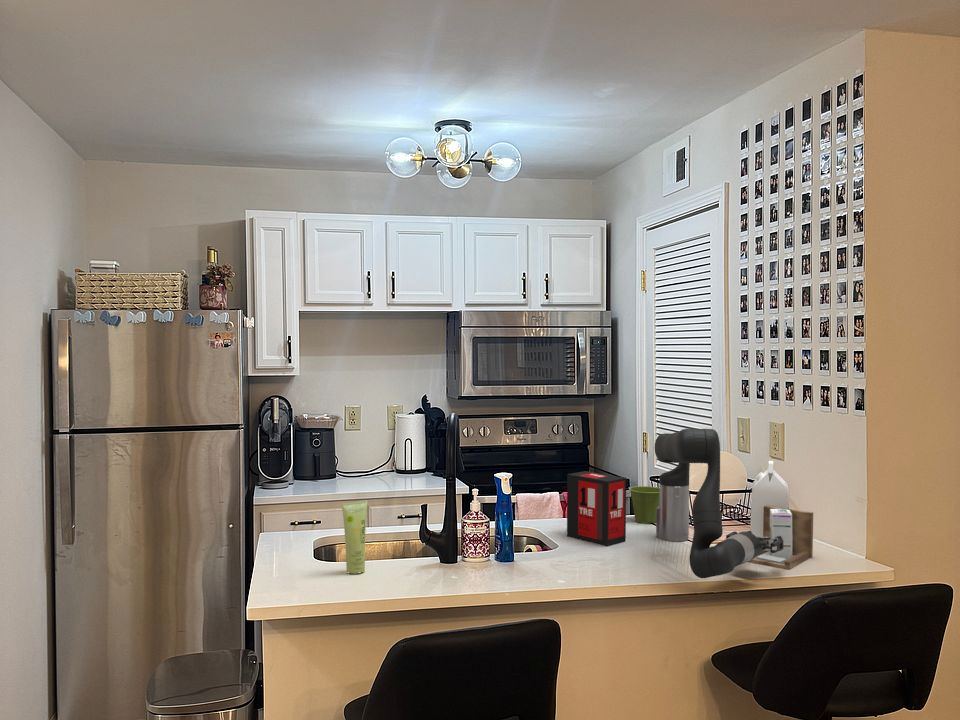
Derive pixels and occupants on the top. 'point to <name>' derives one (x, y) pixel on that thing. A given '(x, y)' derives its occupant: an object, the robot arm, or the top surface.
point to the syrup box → (782, 531)
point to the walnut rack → (800, 538)
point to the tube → (355, 535)
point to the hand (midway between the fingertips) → (765, 536)
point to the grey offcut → (771, 558)
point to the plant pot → (645, 503)
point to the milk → (767, 497)
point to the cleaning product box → (596, 508)
